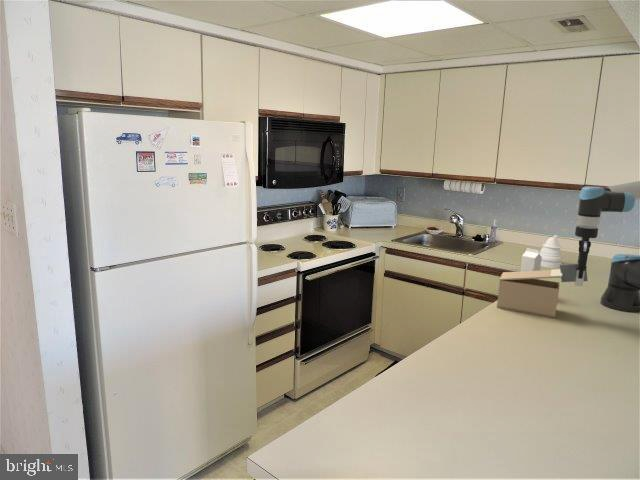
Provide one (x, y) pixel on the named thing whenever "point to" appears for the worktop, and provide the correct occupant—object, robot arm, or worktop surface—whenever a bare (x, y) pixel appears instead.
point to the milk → (531, 260)
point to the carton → (529, 296)
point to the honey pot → (551, 253)
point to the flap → (547, 274)
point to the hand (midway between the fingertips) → (578, 284)
